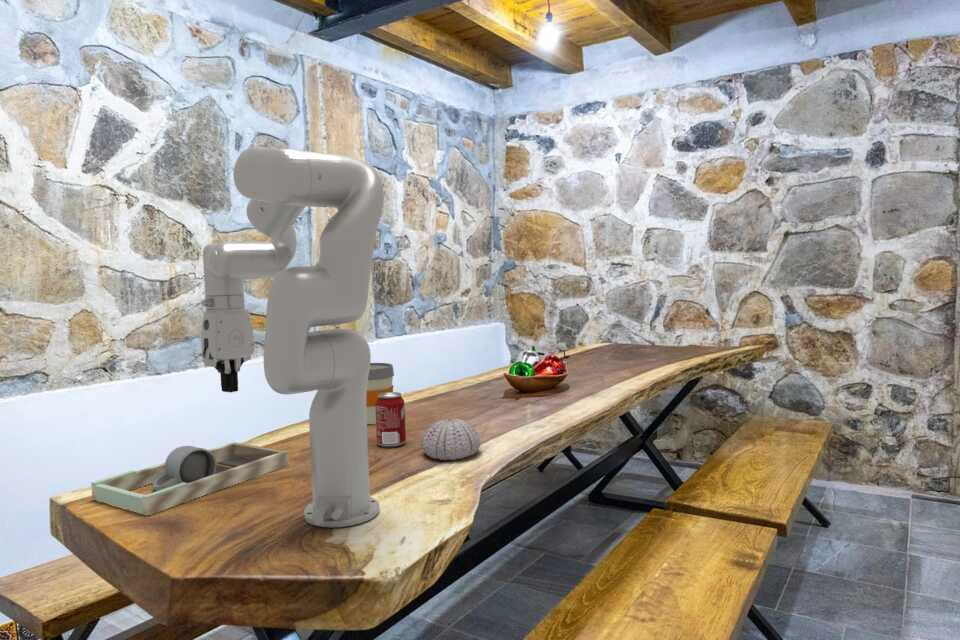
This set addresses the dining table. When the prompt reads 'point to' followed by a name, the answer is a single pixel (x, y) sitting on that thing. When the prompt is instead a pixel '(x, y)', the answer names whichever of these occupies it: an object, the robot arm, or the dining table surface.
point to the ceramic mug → (186, 466)
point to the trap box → (240, 456)
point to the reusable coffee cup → (377, 386)
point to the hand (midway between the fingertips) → (230, 391)
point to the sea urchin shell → (450, 440)
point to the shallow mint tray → (126, 493)
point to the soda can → (390, 419)
